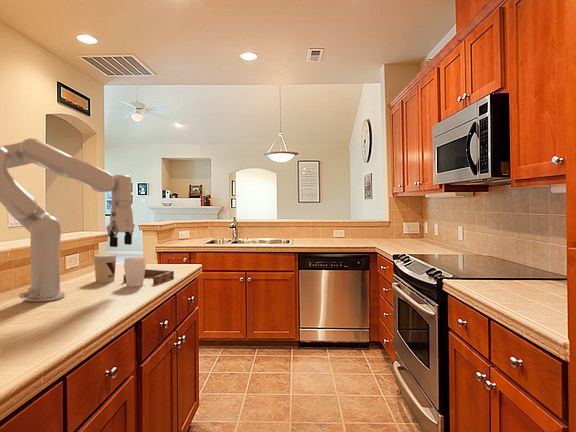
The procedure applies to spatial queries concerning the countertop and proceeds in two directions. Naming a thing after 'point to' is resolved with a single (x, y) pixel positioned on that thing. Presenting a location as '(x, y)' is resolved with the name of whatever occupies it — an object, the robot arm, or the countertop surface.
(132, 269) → the cup
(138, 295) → the countertop surface
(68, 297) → the countertop surface
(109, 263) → the coffee cup
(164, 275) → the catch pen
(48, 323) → the countertop surface
